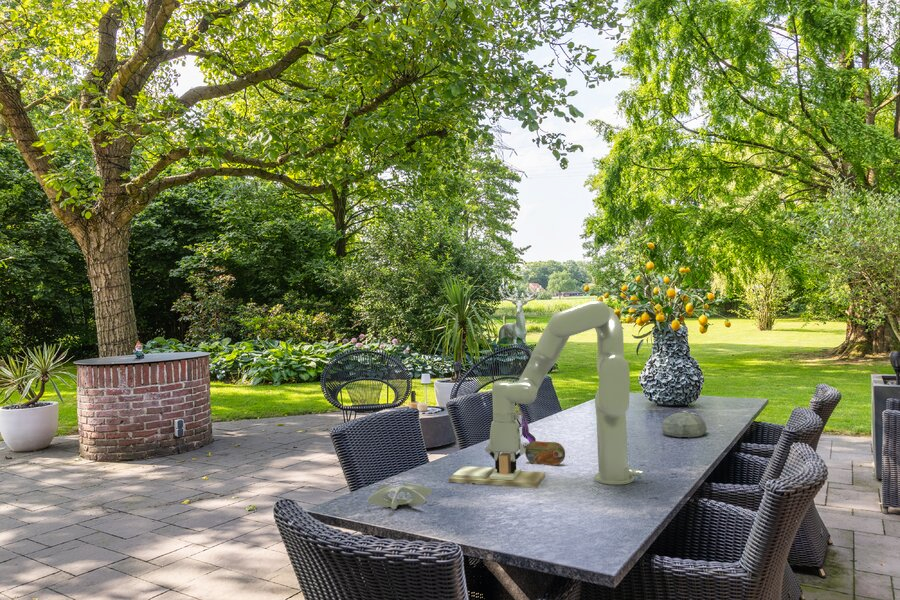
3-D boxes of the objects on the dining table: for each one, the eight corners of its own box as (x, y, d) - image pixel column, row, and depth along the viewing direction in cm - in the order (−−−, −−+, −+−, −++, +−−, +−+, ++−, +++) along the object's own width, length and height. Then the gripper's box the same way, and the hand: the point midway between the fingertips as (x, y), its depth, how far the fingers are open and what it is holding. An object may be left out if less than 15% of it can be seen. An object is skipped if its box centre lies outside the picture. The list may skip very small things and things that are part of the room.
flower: (510, 463, 256) (538, 448, 254) (492, 431, 258) (520, 415, 255) (513, 455, 270) (540, 440, 268) (496, 424, 272) (523, 410, 270)
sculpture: (397, 493, 200) (396, 474, 200) (444, 503, 187) (444, 482, 188) (356, 508, 186) (355, 486, 187) (404, 520, 174) (404, 497, 174)
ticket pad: (544, 476, 214) (544, 469, 214) (536, 487, 201) (536, 479, 201) (461, 472, 224) (461, 465, 224) (449, 482, 210) (448, 474, 211)
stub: (520, 471, 216) (520, 450, 216) (512, 480, 204) (512, 458, 204) (499, 470, 218) (498, 450, 218) (489, 479, 207) (489, 457, 207)
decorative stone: (652, 434, 279) (651, 412, 279) (686, 429, 288) (685, 407, 289) (683, 441, 263) (682, 417, 264) (717, 435, 273) (716, 412, 273)
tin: (525, 463, 234) (524, 440, 234) (528, 461, 237) (527, 439, 237) (564, 466, 227) (563, 443, 227) (566, 464, 230) (565, 441, 230)
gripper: (530, 416, 212) (532, 470, 212) (483, 415, 218) (485, 468, 218) (526, 420, 205) (528, 476, 205) (477, 419, 211) (479, 473, 210)
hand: (505, 471), depth 211 cm, fingers open, 4 cm apart
